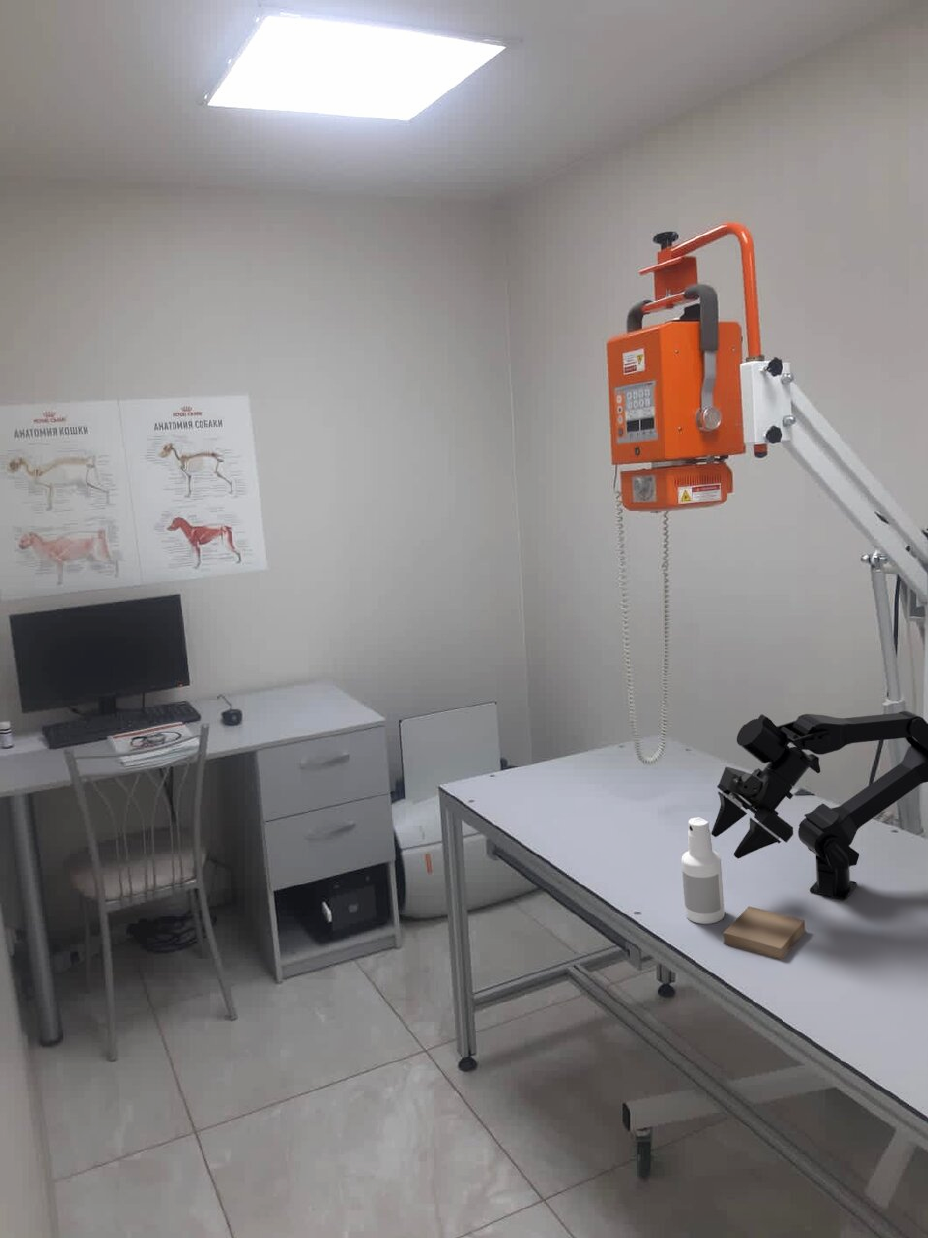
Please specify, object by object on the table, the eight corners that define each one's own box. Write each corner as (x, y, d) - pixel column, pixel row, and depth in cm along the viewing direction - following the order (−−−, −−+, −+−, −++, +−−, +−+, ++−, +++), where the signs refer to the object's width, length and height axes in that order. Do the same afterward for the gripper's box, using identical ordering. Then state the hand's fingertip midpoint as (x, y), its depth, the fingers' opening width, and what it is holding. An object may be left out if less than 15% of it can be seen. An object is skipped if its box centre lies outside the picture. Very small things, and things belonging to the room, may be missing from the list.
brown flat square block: (749, 916, 173) (748, 906, 172) (805, 931, 166) (804, 920, 166) (724, 943, 165) (723, 933, 165) (781, 959, 159) (781, 948, 158)
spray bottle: (677, 912, 177) (670, 820, 173) (708, 901, 179) (702, 810, 176) (701, 929, 170) (694, 833, 167) (732, 917, 173) (726, 822, 169)
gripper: (724, 735, 179) (671, 802, 180) (772, 769, 161) (713, 843, 162) (766, 769, 182) (714, 834, 183) (818, 805, 164) (760, 878, 165)
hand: (724, 846), depth 173 cm, fingers open, 9 cm apart
